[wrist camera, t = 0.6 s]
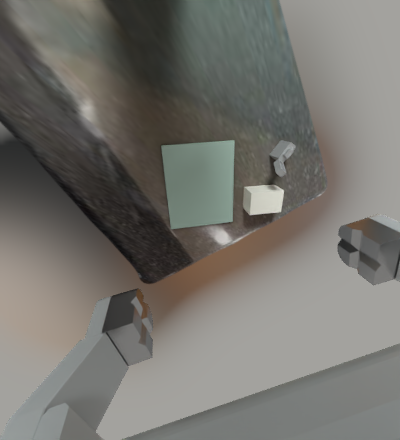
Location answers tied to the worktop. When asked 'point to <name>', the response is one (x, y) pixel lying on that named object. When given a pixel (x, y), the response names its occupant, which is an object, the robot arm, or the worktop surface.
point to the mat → (199, 183)
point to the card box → (262, 199)
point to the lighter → (281, 156)
